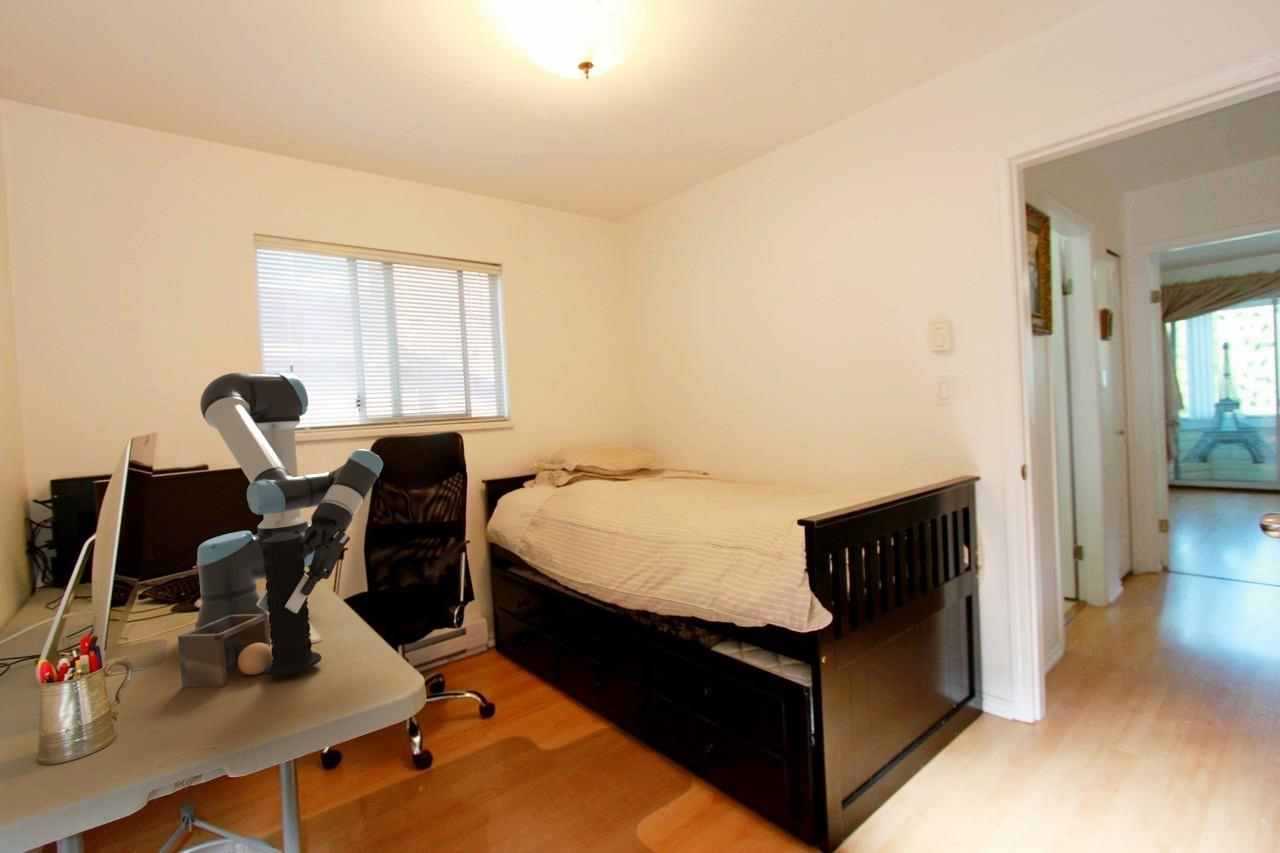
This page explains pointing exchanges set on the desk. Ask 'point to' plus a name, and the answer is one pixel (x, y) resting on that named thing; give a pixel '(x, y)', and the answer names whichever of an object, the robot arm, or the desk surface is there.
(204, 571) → the robot arm
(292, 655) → the handle grip
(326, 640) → the desk surface
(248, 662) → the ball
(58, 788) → the desk surface
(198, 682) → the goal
